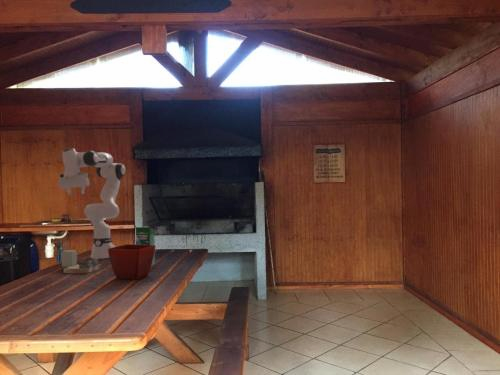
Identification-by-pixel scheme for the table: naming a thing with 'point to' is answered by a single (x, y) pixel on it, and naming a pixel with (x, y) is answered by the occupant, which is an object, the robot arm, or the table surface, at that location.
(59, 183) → the robot arm
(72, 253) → the pale green handled box
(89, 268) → the dock
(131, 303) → the table surface
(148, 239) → the milk carton
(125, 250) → the plant pot
